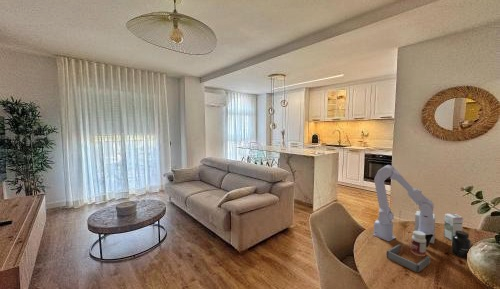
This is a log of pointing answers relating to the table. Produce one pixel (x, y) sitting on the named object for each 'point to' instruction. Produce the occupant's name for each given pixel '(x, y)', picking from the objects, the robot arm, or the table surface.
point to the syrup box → (452, 225)
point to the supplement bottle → (461, 244)
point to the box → (411, 265)
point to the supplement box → (418, 225)
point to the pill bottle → (418, 243)
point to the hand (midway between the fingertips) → (424, 246)
